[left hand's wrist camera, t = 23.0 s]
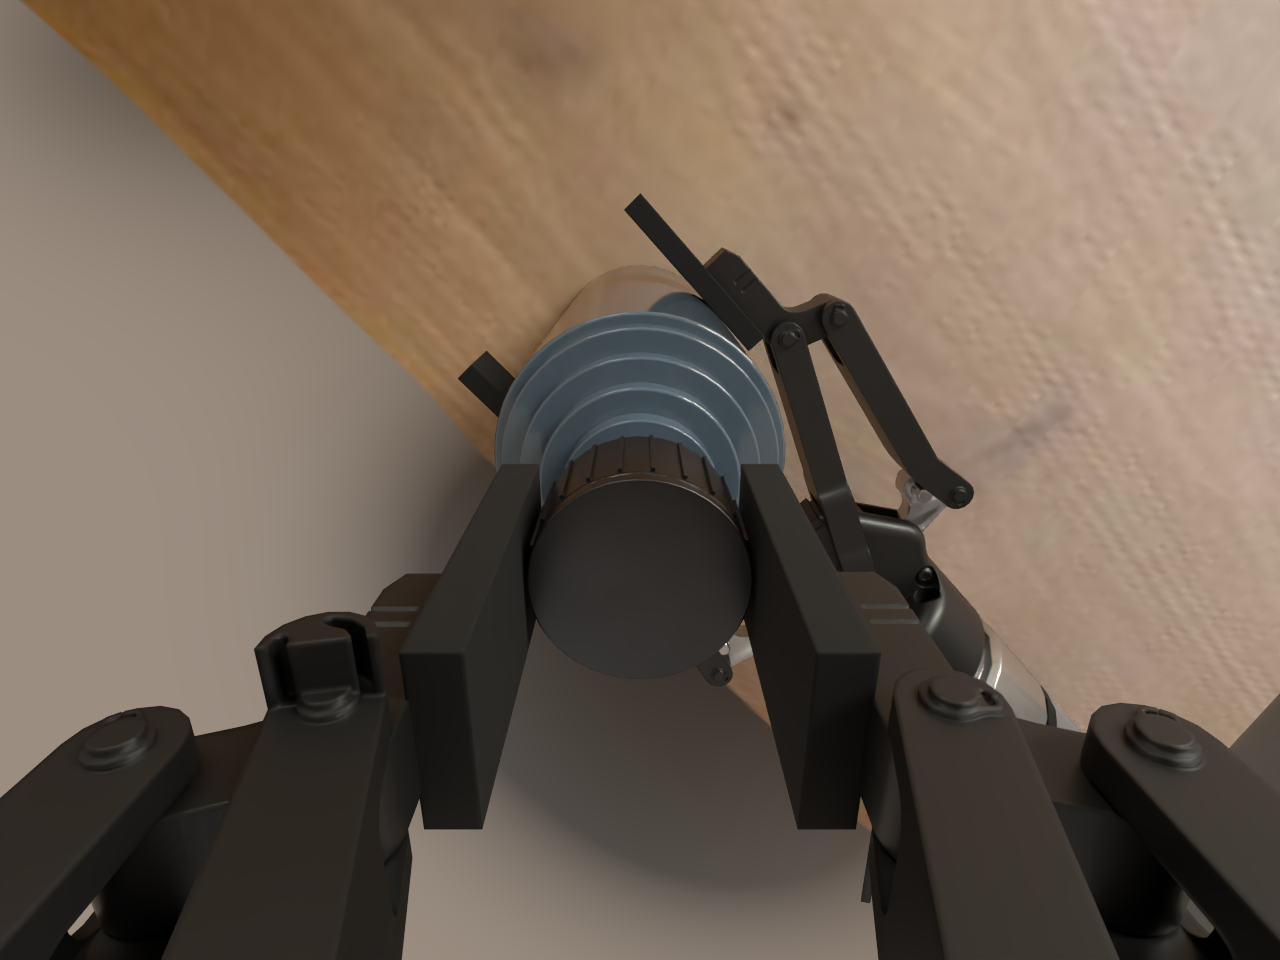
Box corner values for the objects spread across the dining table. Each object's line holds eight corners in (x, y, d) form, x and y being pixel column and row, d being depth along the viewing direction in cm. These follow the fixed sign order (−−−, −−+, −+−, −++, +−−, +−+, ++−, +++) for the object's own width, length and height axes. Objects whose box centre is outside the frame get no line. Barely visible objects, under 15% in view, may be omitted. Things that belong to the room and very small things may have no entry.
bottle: (749, 307, 33) (926, 462, 12) (679, 450, 35) (733, 775, 15) (595, 236, 31) (517, 282, 11) (535, 390, 34) (382, 653, 14)
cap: (724, 416, 14) (741, 457, 11) (748, 596, 15) (768, 665, 13) (521, 450, 14) (498, 496, 12) (564, 624, 15) (551, 696, 13)
